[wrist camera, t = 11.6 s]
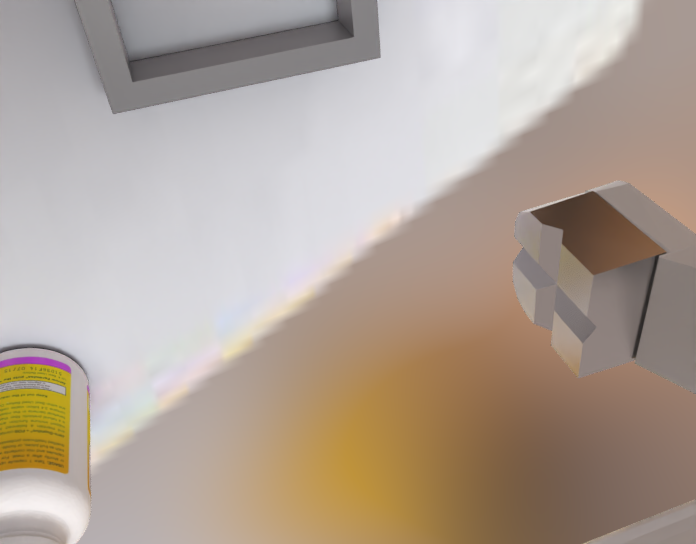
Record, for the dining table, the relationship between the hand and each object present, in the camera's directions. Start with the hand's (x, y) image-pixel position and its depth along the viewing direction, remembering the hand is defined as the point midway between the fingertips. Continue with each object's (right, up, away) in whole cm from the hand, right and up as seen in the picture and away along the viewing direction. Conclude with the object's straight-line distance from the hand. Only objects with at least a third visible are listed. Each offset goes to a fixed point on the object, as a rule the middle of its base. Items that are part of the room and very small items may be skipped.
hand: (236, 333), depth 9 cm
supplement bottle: (-17, -6, +31) cm, 36 cm away
